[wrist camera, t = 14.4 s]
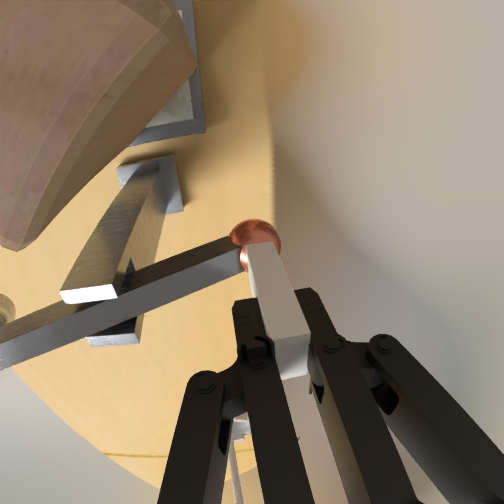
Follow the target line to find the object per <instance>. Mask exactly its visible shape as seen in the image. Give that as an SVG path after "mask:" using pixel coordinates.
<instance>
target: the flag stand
mask: <svg viewBox="0 0 504 504" xmlns="http://www.w3.org/2000/svg"><path fill="white" fill-rule="evenodd" d="M246 434H249V435H250V436H252V435H251V429H250V424H249V418H248V412H246V413H244V414H242V415H240V416H237V417H235V418H234V419H233V426H232V433H231V440H230V447H229V453H228V460H229V467H230V474H231V480H232V487H233V493H234V499H235V504H244V503H243V498H242V492H241V486H240V480H239V474H238V467H237V461H236V455H235V448H234V442H236V441H241V440H245V438H244V435H246Z"/></svg>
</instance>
